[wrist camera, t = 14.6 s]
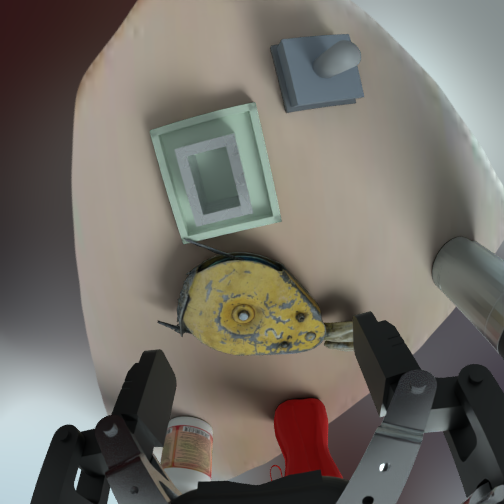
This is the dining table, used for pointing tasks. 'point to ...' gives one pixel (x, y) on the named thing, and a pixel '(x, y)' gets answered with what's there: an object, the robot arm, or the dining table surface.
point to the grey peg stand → (317, 71)
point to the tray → (218, 169)
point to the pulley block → (253, 308)
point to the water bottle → (304, 437)
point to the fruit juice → (187, 452)
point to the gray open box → (195, 189)
